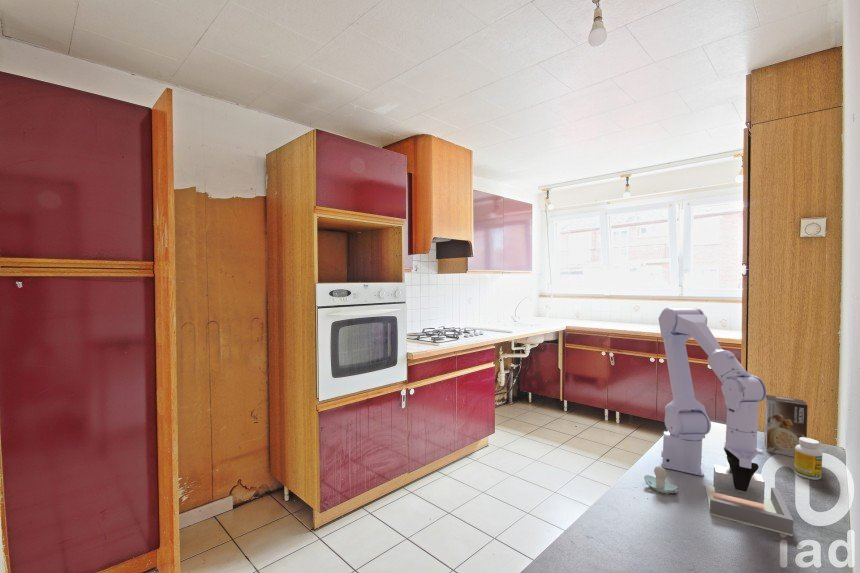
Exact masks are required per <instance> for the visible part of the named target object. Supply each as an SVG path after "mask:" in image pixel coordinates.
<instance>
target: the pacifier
mask: <svg viewBox="0 0 860 573" xmlns="http://www.w3.org/2000/svg"><path fill="white" fill-rule="evenodd" d="M653 472H654V473H653V474H654V475H655V477H654V476H652V475H650V474H649V475H648V474H645V475H644V476H643V479H644V482H645V484H646V485H648V486H649V487H650V488H652V489H653V490H654V491H656V492H659V493H660V492H661V494H664V493H665V495H667V494H677V493H679V492H678V486H677V485H675V484H673V483H669V482H667V481H666V479H667V478H668V471H666V468H664V467H663V466H660V465H658V466H657V465H656V466H655V467H654V469H653Z"/></svg>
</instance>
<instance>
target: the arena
mask: <svg viewBox="0 0 860 573" xmlns="http://www.w3.org/2000/svg"><path fill="white" fill-rule="evenodd" d="M704 487H705V491H706V492H707V493H706V492H705V493H706V497H707V498H708V499H707V503H708V504H709V505H708V510H709V515H710V516H714V517H717V518H720V519H726V520H729V521H733V522H736V523H740V524H744V525H748V526H751V527H756V528H760V529H763V530H767V531H771V532H774V533H778V534H782V535H786V536H789V537H793V534H794V531H793V530H794V519H793V516H792V515H791V513H790V511H789V507H788V506H787V505H786V502H785V501H784V498H783V497H782V495H781V493H780V490H779V488H776V487H771V488H770V498H767V497H766V498H765V497H764V504H761V503H757V502H753V501H749V500H744V499H740V498H736V497H732V496H727V495H723V494H719V493H715V491H714V486H713V485H709V484H705V485H704Z"/></svg>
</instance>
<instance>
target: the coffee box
mask: <svg viewBox="0 0 860 573" xmlns="http://www.w3.org/2000/svg"><path fill="white" fill-rule="evenodd" d="M808 409H809V408H808V404H807V402H806V401H804V400H803V399H800V398H799V399H798V398H791V397H785V396H777V395H773V394H772V395H771V394H766V397H765V410H764V413H765V414H764V434H763V435H764V439H763V440H764V441H763V445H764V447H765V448H764V449H765V452H767V453H772V454H778V455H781V456H787V457H792V458H795V447H796V446H797V445H799V438H800V437H805V438H808V437H807V436H808V411H809V410H808Z"/></svg>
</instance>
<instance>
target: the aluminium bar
mask: <svg viewBox="0 0 860 573" xmlns="http://www.w3.org/2000/svg"><path fill="white" fill-rule="evenodd" d="M712 484H713V485H712V486H714V491H715V493H719V494H723V495H727V496H732V497H736V498H740V499H744V500H749V501H753V502H757V503H761V504H764V498H765V487H766V486H765V485H766V482H765V479H764V477H763V475H762V474H761V473H756V472H755V473H754V474H753V476H752V478H751V480H750V483H749V486H748V489H747V491H746V492H745V491H741V490H736V489H735V487H734V483H733V475H732V470H731V468H730V467H726V466H721V465H718V464H713V483H712Z"/></svg>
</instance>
